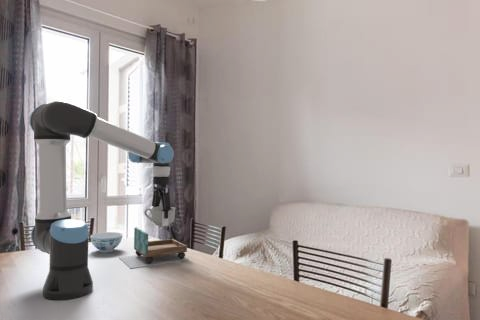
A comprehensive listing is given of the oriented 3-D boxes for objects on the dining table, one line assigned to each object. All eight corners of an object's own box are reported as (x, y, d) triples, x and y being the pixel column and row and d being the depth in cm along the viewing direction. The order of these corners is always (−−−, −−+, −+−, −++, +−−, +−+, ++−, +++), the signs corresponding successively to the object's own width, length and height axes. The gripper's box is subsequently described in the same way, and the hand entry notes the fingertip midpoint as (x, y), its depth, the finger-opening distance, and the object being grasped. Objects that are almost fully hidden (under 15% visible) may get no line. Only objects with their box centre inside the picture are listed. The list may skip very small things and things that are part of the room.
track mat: (188, 260, 159) (188, 259, 159) (130, 268, 145) (130, 268, 145) (172, 251, 175) (172, 250, 175) (119, 258, 161) (119, 257, 161)
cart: (186, 258, 159) (187, 229, 159) (145, 264, 149) (146, 233, 149) (172, 250, 174) (172, 224, 174) (133, 255, 163) (134, 227, 163)
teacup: (177, 223, 167) (178, 206, 167) (171, 227, 156) (171, 209, 156) (149, 222, 168) (149, 205, 168) (140, 226, 158) (141, 208, 158)
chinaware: (128, 250, 176) (129, 234, 176) (103, 256, 163) (103, 239, 163) (109, 245, 184) (109, 231, 184) (83, 251, 171) (83, 235, 171)
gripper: (179, 176, 154) (178, 227, 154) (160, 175, 173) (159, 219, 173) (162, 177, 150) (161, 228, 150) (145, 175, 169) (144, 220, 169)
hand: (160, 223), depth 161 cm, fingers closed on teacup, 11 cm apart
